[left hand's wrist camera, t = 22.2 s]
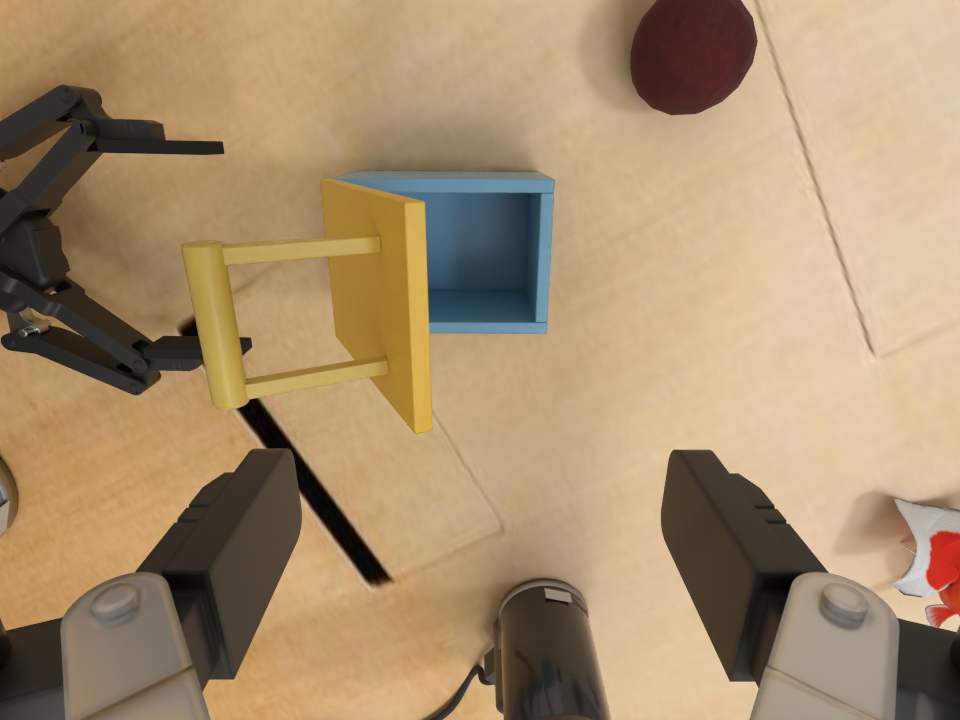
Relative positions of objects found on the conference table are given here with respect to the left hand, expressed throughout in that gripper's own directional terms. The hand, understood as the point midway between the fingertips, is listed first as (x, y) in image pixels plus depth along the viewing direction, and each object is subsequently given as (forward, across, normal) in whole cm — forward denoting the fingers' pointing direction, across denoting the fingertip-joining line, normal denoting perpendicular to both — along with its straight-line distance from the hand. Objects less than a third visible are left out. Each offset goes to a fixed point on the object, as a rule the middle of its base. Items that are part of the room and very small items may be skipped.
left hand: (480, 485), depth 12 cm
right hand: (+27, +17, 0) cm, 32 cm away
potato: (+34, -14, -12) cm, 38 cm away
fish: (+34, -44, +30) cm, 63 cm away
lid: (+18, +5, 0) cm, 19 cm away
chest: (+34, +2, 0) cm, 34 cm away
